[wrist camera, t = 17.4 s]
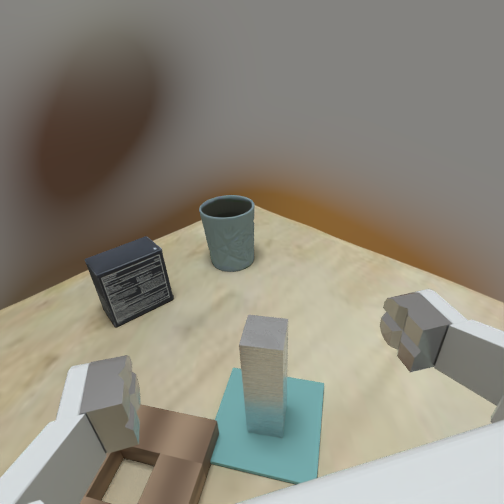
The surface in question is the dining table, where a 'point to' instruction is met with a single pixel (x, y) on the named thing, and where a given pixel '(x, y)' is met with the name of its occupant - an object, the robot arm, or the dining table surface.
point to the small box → (130, 280)
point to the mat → (267, 447)
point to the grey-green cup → (229, 231)
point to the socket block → (164, 457)
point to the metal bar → (265, 374)
